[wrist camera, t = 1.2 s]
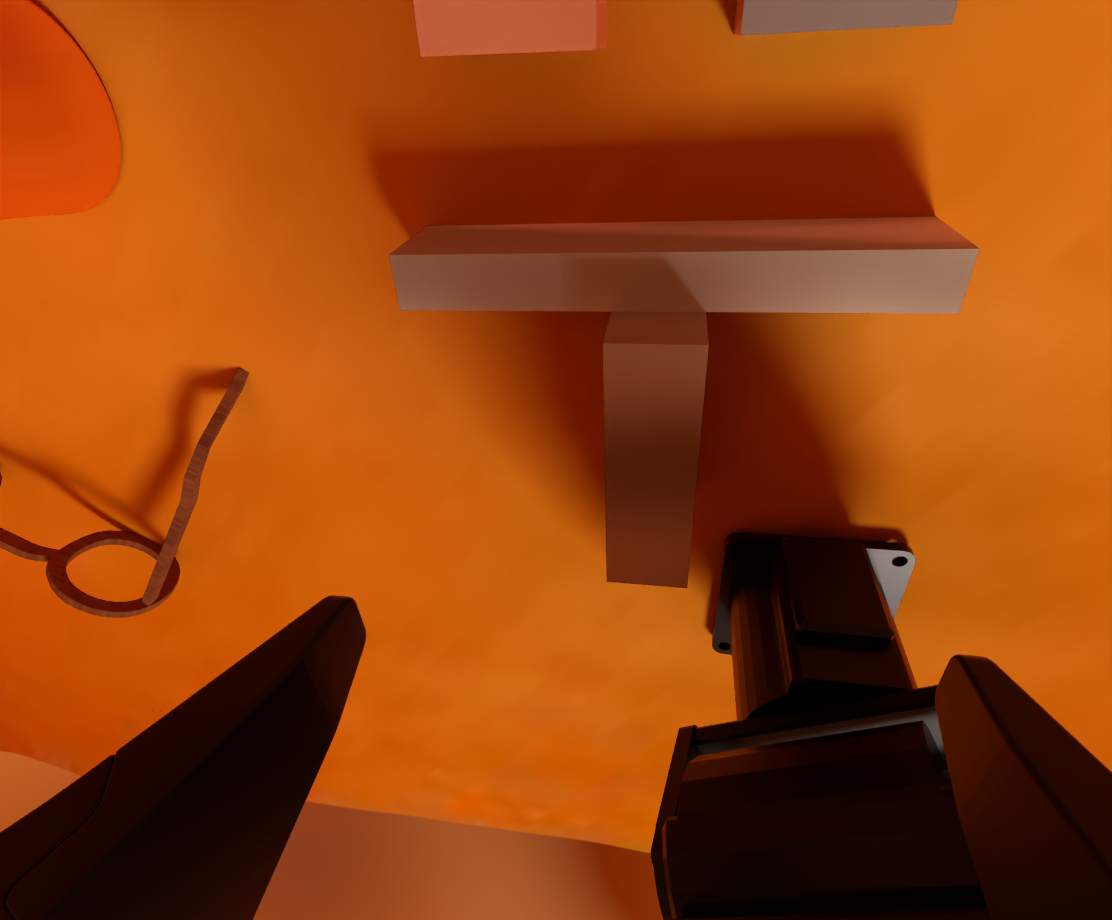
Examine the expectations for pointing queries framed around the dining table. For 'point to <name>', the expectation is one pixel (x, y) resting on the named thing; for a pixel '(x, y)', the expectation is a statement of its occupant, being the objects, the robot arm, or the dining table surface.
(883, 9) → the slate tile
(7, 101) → the beer glass
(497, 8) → the terracotta tile
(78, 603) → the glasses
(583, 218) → the dining table surface
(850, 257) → the scraper
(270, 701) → the robot arm
